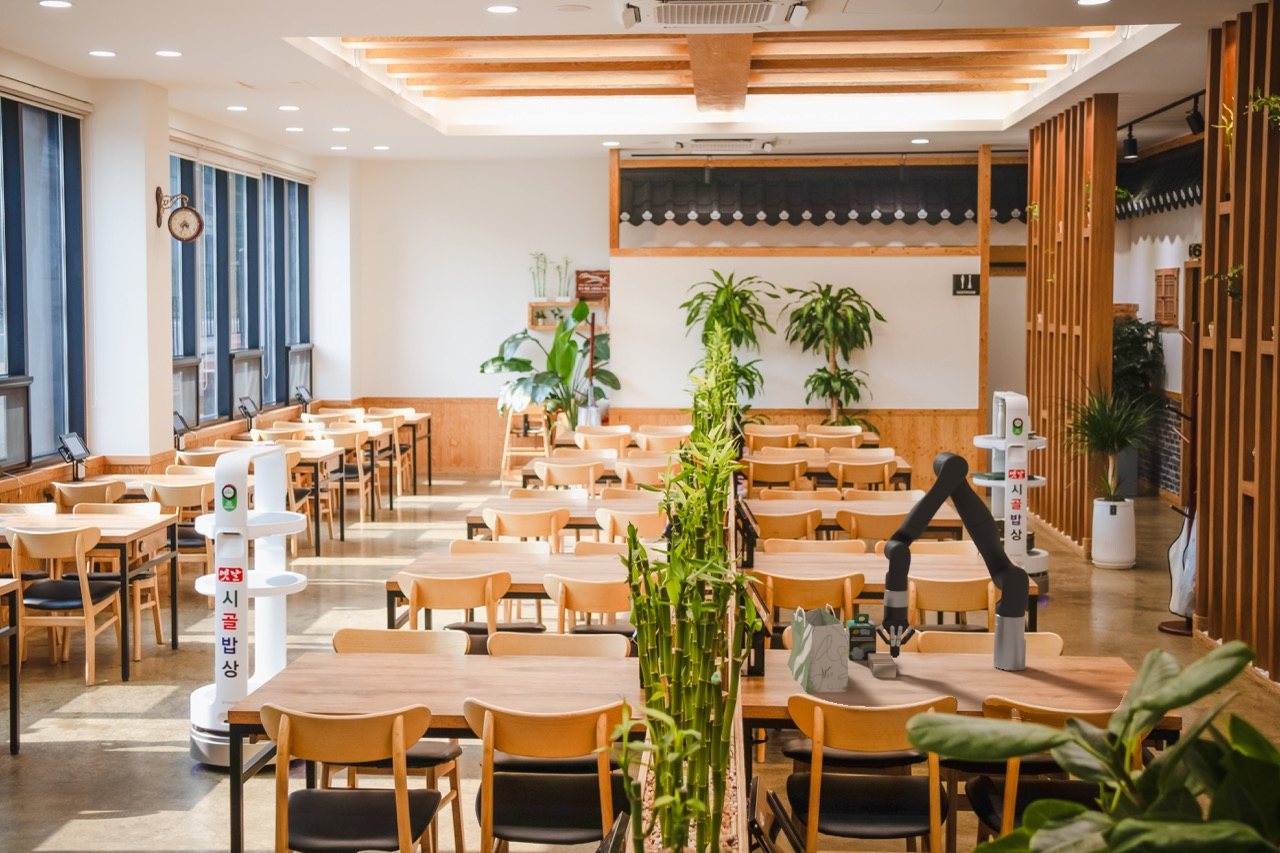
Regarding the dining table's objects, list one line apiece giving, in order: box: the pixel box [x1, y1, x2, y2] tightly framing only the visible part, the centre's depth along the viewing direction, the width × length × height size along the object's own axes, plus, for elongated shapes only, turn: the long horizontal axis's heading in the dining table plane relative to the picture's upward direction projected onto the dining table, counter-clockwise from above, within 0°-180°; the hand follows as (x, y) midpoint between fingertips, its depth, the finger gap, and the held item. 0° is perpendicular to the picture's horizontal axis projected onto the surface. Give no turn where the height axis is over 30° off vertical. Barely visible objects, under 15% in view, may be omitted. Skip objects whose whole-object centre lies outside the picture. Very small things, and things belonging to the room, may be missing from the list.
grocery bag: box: [787, 603, 849, 694], centre depth 404 cm, size 32×14×23 cm, turn 5°
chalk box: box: [845, 613, 877, 661], centre depth 430 cm, size 9×9×15 cm
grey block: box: [867, 652, 897, 678], centre depth 413 cm, size 4×7×14 cm
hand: (894, 657), depth 413 cm, fingers closed
